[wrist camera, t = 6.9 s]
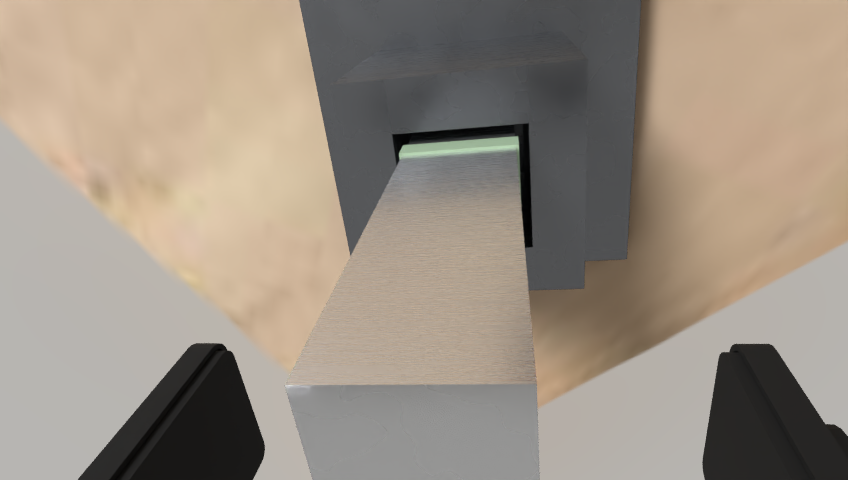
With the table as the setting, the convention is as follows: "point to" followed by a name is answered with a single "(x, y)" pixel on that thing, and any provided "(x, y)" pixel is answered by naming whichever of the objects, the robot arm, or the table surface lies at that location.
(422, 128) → the jack base
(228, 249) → the table surface
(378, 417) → the bar
